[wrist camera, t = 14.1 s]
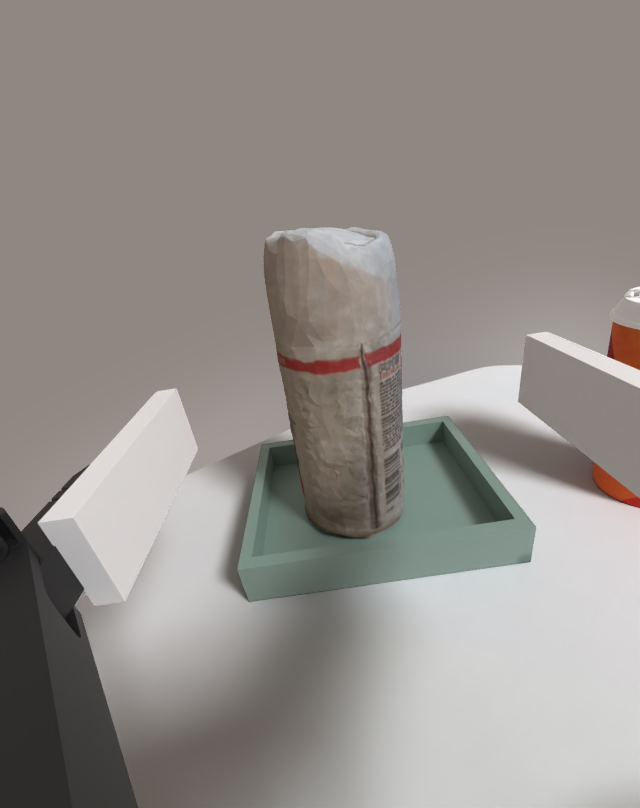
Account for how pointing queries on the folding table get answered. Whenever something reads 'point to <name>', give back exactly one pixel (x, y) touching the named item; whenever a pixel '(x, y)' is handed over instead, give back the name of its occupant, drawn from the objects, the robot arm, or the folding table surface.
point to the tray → (396, 546)
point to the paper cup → (634, 346)
